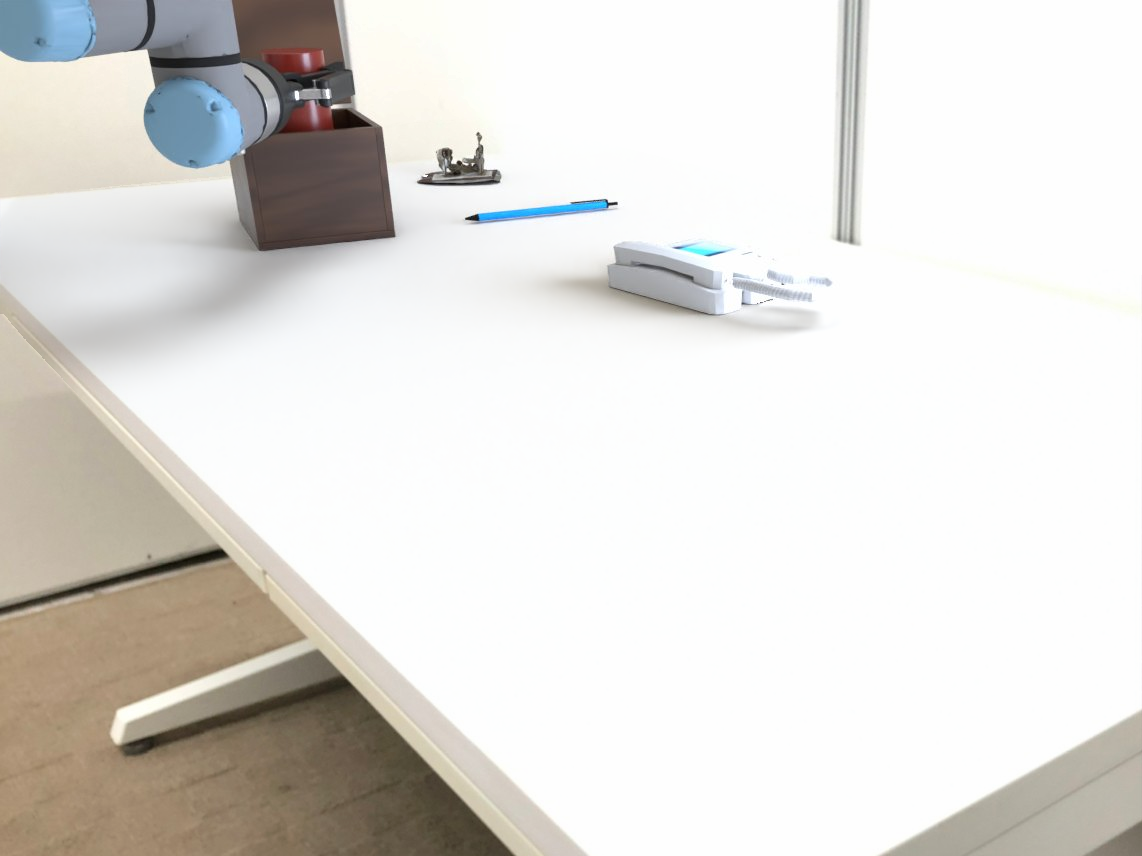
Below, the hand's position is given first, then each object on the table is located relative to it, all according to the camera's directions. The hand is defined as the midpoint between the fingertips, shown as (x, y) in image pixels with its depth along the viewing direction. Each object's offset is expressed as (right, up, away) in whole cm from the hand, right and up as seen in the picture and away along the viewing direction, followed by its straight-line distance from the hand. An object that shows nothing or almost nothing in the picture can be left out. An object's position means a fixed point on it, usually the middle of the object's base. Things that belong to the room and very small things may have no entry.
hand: (309, 74), depth 146 cm
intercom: (+48, -29, -22) cm, 61 cm away
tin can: (0, -8, -2) cm, 8 cm away
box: (-1, -16, +4) cm, 17 cm away
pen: (+25, -13, +9) cm, 30 cm away
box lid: (-5, +6, +3) cm, 9 cm away
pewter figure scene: (+10, -3, +31) cm, 32 cm away
